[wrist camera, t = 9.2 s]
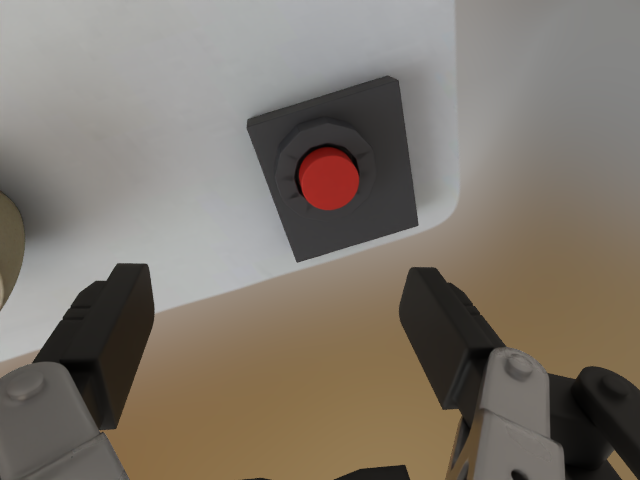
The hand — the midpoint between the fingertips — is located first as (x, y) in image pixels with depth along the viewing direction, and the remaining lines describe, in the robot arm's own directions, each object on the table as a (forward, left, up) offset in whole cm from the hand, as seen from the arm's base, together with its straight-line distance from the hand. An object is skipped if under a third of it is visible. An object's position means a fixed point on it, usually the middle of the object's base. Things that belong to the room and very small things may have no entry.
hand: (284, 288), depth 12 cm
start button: (+1, +4, -13) cm, 14 cm away
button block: (+2, +5, -17) cm, 18 cm away
